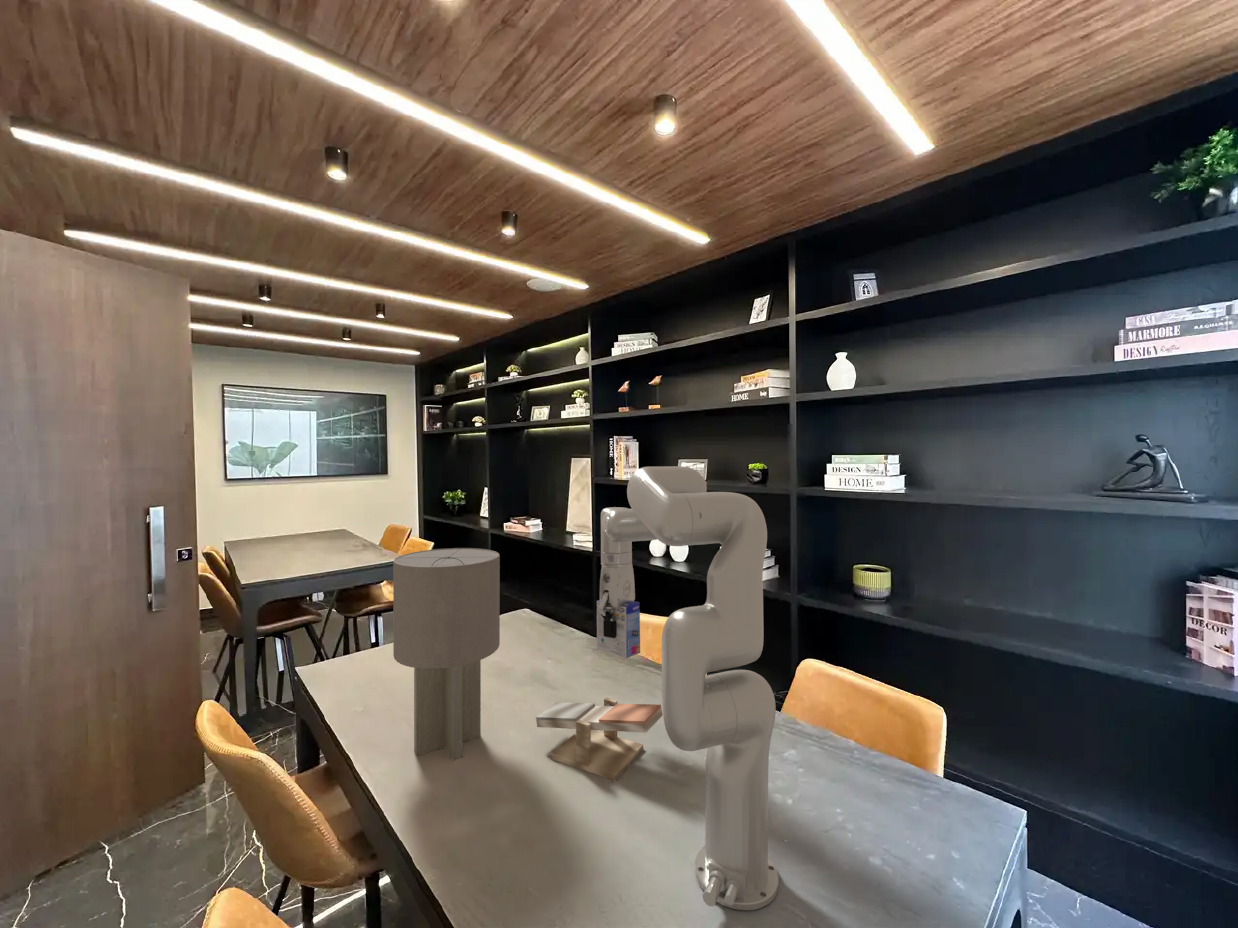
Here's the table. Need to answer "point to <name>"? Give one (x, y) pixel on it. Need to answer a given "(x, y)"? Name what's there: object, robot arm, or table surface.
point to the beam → (601, 716)
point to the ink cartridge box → (621, 631)
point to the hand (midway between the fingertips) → (616, 632)
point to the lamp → (446, 639)
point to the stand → (597, 750)
